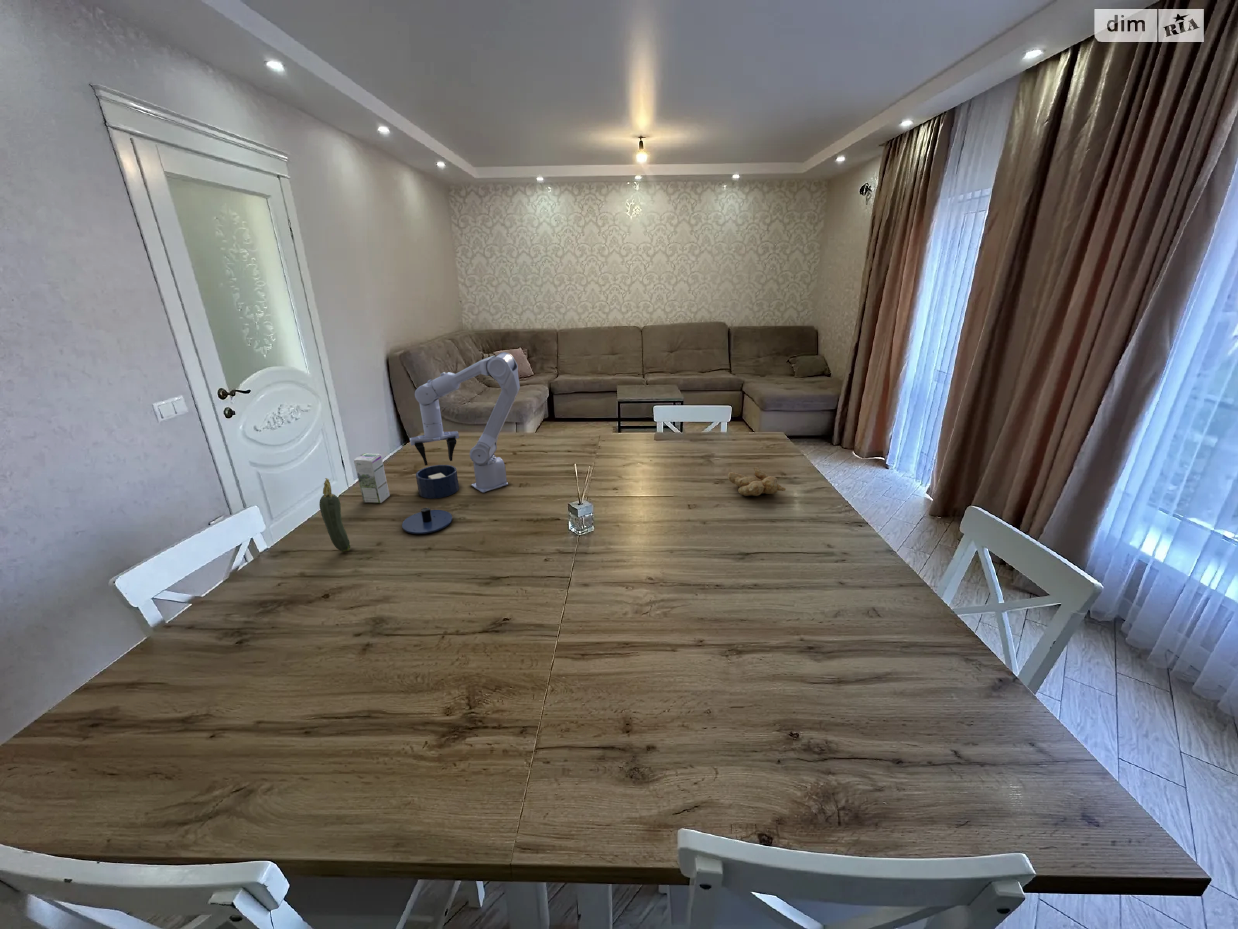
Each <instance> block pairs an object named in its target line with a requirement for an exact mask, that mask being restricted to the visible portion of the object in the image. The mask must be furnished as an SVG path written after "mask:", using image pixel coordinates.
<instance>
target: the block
mask: <svg viewBox="0 0 1238 929" xmlns="http://www.w3.org/2000/svg"><path fill="white" fill-rule="evenodd" d="M442 477H445V475H443V474H442V473H438V474H434V475H430V476H428V478H429V479H436V478H442Z"/></svg>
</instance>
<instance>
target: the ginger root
mask: <svg viewBox="0 0 1238 929" xmlns="http://www.w3.org/2000/svg"><path fill="white" fill-rule="evenodd" d="M753 471H754V476H745V475H743V474H741V473H738V472H735V471H733V472H732V471H731V472H727V476H726V477H727V480H728V481H729V483H732V484H734V485H735V486H736V487H738V489H737V492H738V493H739V494H740V495H741V496H745V497H750V496H754V497H758V496H760V495H762V494H763V495H764V494H767V495H773V494H777V493H778V492H785V491H786V490H787V488H786V487H784V486H782V485H780V484H779V481H778V479H777V477H775V476H771V475H770V476H769V475H768V474H767V473H766V472H764V471H761V469H760V468H759V467H757V466H755V467H753Z"/></svg>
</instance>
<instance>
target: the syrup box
mask: <svg viewBox="0 0 1238 929" xmlns="http://www.w3.org/2000/svg"><path fill="white" fill-rule="evenodd" d="M353 463H354V469H355V471H356V476H357V481H358V484H359V489H360V493H361V497H362V501H363V502H362V503H364V504H365V503H367V504H382V503H383V502H385V501H386V500H387V499H388V498H389V497H391V493H390V489H389V486H388V481H387V476H386V471H385V466H384V461H383V456H382V454H381V453H362V454H360V455H358V456H356V457H355V458H354V459H353Z"/></svg>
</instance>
